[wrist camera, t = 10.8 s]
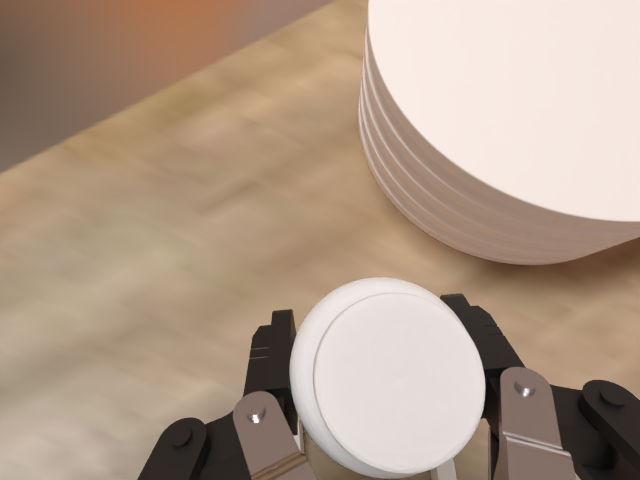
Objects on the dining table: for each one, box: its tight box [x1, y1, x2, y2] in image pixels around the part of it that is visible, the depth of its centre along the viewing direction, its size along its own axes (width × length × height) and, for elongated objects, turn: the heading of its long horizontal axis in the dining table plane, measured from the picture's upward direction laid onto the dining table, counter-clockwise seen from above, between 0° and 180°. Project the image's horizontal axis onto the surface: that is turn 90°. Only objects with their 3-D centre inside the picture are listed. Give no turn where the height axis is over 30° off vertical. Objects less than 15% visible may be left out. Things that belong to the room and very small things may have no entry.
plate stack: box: [358, 0, 640, 265], centre depth 29 cm, size 28×28×12 cm
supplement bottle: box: [289, 277, 485, 479], centre depth 13 cm, size 6×6×10 cm
